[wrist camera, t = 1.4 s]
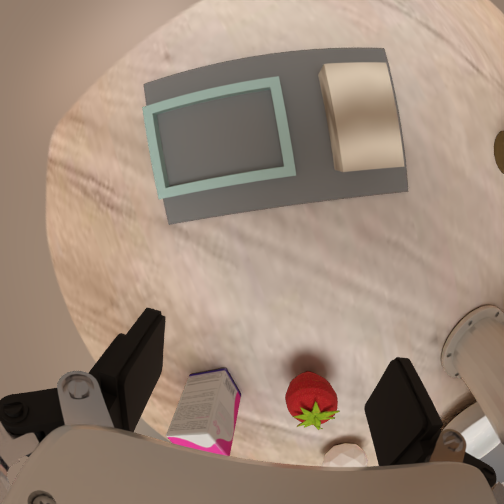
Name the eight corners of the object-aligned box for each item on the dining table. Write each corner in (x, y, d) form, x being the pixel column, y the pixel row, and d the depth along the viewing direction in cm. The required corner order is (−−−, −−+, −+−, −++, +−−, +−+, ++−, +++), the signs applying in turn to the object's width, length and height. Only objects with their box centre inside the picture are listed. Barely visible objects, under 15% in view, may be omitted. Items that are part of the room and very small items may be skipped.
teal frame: (278, 79, 26) (278, 76, 25) (295, 174, 29) (296, 175, 28) (146, 108, 28) (142, 107, 27) (162, 197, 31) (158, 199, 29)
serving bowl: (419, 462, 44) (426, 485, 38) (426, 410, 39) (439, 438, 32) (496, 425, 41) (506, 444, 34) (516, 363, 35) (533, 384, 28)
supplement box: (187, 374, 38) (163, 435, 28) (226, 366, 37) (210, 432, 27) (205, 401, 40) (188, 462, 29) (242, 395, 39) (232, 459, 28)
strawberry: (316, 344, 35) (325, 401, 26) (340, 380, 37) (352, 435, 27) (275, 363, 37) (273, 421, 27) (302, 397, 38) (305, 452, 29)
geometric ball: (331, 441, 45) (307, 473, 40) (348, 429, 40) (322, 467, 35) (362, 460, 42) (340, 493, 37) (383, 450, 37) (360, 488, 32)
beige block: (318, 75, 25) (324, 63, 22) (373, 72, 25) (386, 62, 21) (334, 169, 28) (343, 172, 25) (389, 164, 28) (404, 166, 24)
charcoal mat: (383, 49, 24) (384, 48, 24) (406, 191, 29) (408, 191, 28) (145, 84, 27) (143, 84, 27) (169, 223, 32) (168, 224, 31)
